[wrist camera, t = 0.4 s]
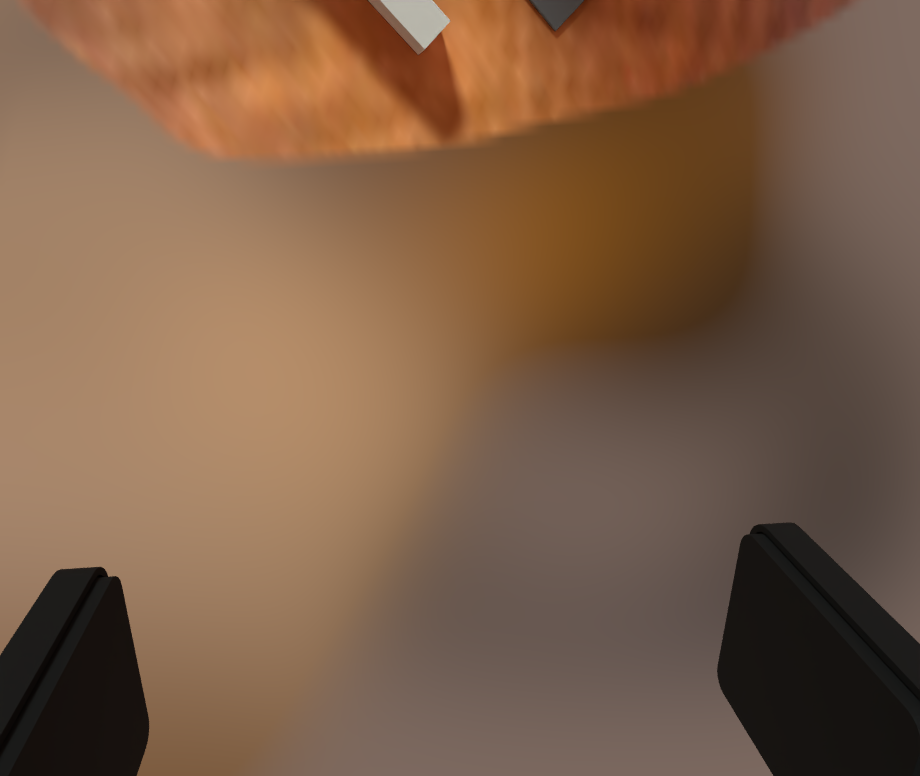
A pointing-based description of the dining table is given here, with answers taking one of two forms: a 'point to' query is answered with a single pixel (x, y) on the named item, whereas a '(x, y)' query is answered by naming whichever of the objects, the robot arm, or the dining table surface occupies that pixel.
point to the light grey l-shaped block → (413, 20)
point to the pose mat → (556, 10)
